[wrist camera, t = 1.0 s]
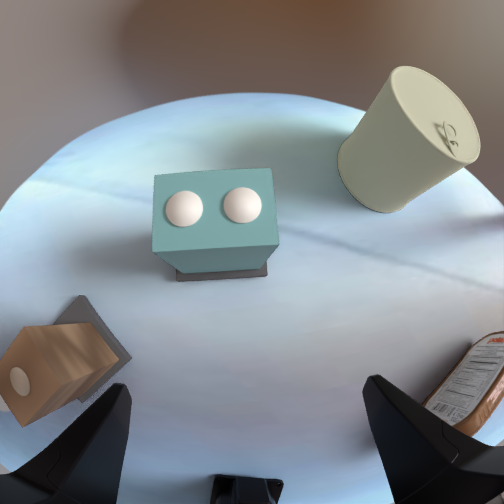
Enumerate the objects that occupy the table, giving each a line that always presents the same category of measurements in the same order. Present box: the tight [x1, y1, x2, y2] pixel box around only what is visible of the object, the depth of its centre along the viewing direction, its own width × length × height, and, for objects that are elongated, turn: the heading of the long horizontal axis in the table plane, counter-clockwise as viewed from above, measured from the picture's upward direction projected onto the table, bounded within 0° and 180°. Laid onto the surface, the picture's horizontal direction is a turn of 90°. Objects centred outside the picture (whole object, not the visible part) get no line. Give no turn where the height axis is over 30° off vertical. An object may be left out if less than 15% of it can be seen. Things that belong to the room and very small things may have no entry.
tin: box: [422, 331, 504, 437], centre depth 18 cm, size 15×3×8 cm, turn 123°
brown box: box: [0, 322, 119, 428], centre depth 15 cm, size 4×6×9 cm, turn 133°
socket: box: [54, 295, 132, 403], centre depth 20 cm, size 7×7×1 cm
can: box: [338, 66, 480, 213], centre depth 20 cm, size 9×9×12 cm
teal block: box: [152, 168, 279, 274], centre depth 17 cm, size 4×6×9 cm, turn 94°
